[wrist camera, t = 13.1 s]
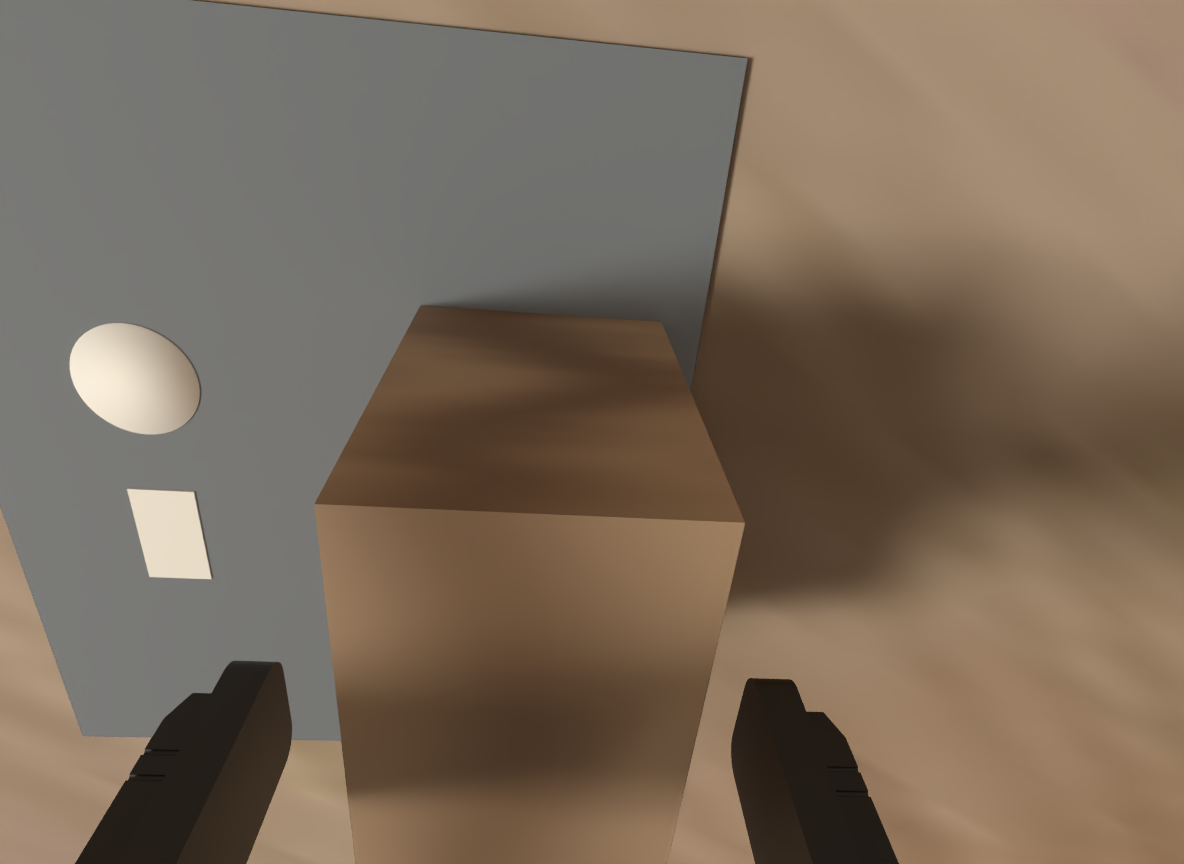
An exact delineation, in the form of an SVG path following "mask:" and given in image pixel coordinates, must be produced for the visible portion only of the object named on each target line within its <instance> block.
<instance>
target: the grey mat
mask: <svg viewBox="0 0 1184 864" xmlns="http://www.w3.org/2000/svg"><path fill="white" fill-rule="evenodd" d="M747 59H748V58H738V57H729V56H719V55H710V54H700V53H690V52H681V51H671V50H662V49H652V48H643V47H633V46H623V45H614V44H604V43H595V42H585V41H576V40H566V39H557V38H547V37H537V36H528V35H518V34H509V33H499V32H490V31H480V30H470V29H461V28H451V27H442V26H432V25H423V24H413V23H404V22H394V21H384V20H375V19H365V18H356V17H346V16H337V15H327V14H318V13H308V12H298V11H289V10H279V9H270V8H260V7H251V6H241V5H231V4H222V3H212V2H203V1H193V0H0V507H1V510H2V513H3V515H4V518H5V521H6V524H7V527H8V529H9V532H10V535H11V538H12V541H13V543H14V546H15V549H16V552H17V554H18V557H19V560H20V563H21V566H22V568H23V571H24V574H25V577H26V580H27V582H28V585H29V588H30V591H31V593H32V596H33V599H34V602H35V605H36V607H37V610H38V613H39V616H40V619H41V621H42V624H43V627H44V630H45V632H46V635H47V638H48V641H49V644H50V646H51V649H52V652H53V655H54V658H55V660H56V663H57V666H58V669H59V671H60V674H61V677H62V680H63V683H64V685H65V688H66V691H67V694H68V696H69V699H70V702H71V705H72V708H73V710H74V713H75V716H76V719H77V722H78V724H79V727H80V730H81V733H82V735H83V736H106V737H153V735H154V733H155V732H156V730H157V728H158V727H159V725H160V723H161V722H162V720H163V719H164V718H165V717H166V716H167V715H168V714H169V713H170V712H171V711H173V710H174V709H175V708H176V707H177V706H178V705H179V704H181V703H182V702H183V701H184V700H185V699H186V698H187V697H188V696H190V695H191V694H192V693H212V691H213V689H214V688H215V686H216V684H217V682H218V680H219V679H220V677H221V675H222V673H223V671H224V670H225V668H226V667H227V665H228V664H229V663H230V662H232V661H266V662H280V663H281V664H282V667H283V670H284V676H285V683H286V689H287V695H288V701H289V707H290V713H291V720H292V739H291V740H332V741H341V733H340V725H339V716H338V707H337V699H336V690H335V681H334V672H333V664H332V655H331V646H330V638H329V629H328V620H327V611H326V603H325V594H324V585H323V577H322V568H321V559H320V550H319V542H318V533H317V524H316V516H315V507H314V504H315V502H316V500H317V498H318V496H319V494H320V492H321V490H322V489H323V487H324V485H325V483H326V481H327V479H328V477H329V475H330V474H331V472H332V470H333V468H334V466H335V464H336V462H337V460H338V459H339V457H340V455H341V453H342V451H343V449H344V447H345V445H346V444H347V442H348V440H349V438H350V436H351V434H352V432H353V431H354V429H355V427H356V425H357V423H358V421H359V419H360V417H361V416H362V414H363V412H364V410H365V408H366V406H367V404H368V402H369V401H370V399H371V397H372V395H373V393H374V391H375V389H376V387H377V386H378V384H379V382H380V380H381V378H382V376H383V374H384V372H385V371H386V369H387V367H388V365H389V363H390V361H391V359H392V358H393V356H394V354H395V352H396V350H397V348H398V346H399V344H400V343H401V341H402V339H403V337H404V335H405V333H406V331H407V329H408V328H409V326H410V324H411V322H412V320H413V318H414V316H415V314H416V313H417V311H418V309H419V307H420V306H434V307H449V308H464V309H478V310H493V311H508V312H523V313H538V314H552V315H567V316H582V317H597V318H611V319H626V320H641V321H656V322H662V324H663V327H664V329H665V332H666V334H667V336H668V339H669V341H670V344H671V346H672V348H673V351H674V353H675V356H676V358H677V360H678V363H679V365H680V368H681V370H682V372H683V375H684V377H685V380H686V382H687V384H688V387H689V389H690V391H691V388H692V382H693V376H694V370H695V364H696V359H697V353H698V347H699V341H700V335H701V329H702V323H703V317H704V312H705V306H706V300H707V294H708V288H709V282H710V276H711V271H712V265H713V259H714V253H715V247H716V241H717V235H718V230H719V224H720V218H721V212H722V206H723V200H724V194H725V188H726V183H727V177H728V171H729V165H730V159H731V153H732V147H733V142H734V136H735V130H736V124H737V118H738V112H739V106H740V101H741V95H742V89H743V83H744V77H745V71H746V65H747Z"/></svg>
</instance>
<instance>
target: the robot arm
mask: <svg viewBox="0 0 1184 864" xmlns="http://www.w3.org/2000/svg"><path fill="white" fill-rule="evenodd" d="M291 739H292V720H291V713H290V707H289V701H288V695H287V689H286V683H285V676H284V670H283V667H282V664H281V663H280V662H266V661H232V662H230V663H229V664H228V665H227V667H226V668H225V670H224V671H223V673H222V675H221V677H220V679H219V680H218V682H217V684H216V686H215V688H214V689H213V691H212V693H192V694H191V695H190V696H188V697H187V698H186V699H185V700H184V701H183V702H182V703H181V704H179V705H178V706H177V707H176V708H175V709H174V710H173V711H171V712H170V713H169V714H168V715H167V716H166V717H165V718H164V719H163V720H162V722H161V723H160V725H159V727H158V728H157V730H156V732H155V733H154V735H153V737H152V738H151V740H150V741H149V743H148V745H147V746H146V748H145V753H144V755H141V756H140V758H139V759H138V761H137V763H136V764H135V766H134V768H133V769H132V771H131V773H130V777H129V780H128V781H125V782H124V784H123V786H122V787H121V789H120V791H119V792H118V794H117V796H116V797H115V799H114V800H113V802H112V804H111V805H110V807H109V809H108V810H107V812H106V814H105V815H104V817H103V819H102V820H101V822H100V823H99V825H98V827H97V828H96V830H95V832H94V833H93V835H92V837H91V838H90V840H89V842H88V843H87V845H86V846H85V848H84V850H83V851H82V853H81V855H80V856H79V858H78V860H77V861H76V863H75V864H246V863H247V860H248V858H249V855H250V853H251V850H252V848H253V845H254V843H255V840H256V838H257V835H258V833H259V830H260V827H261V825H262V822H263V820H264V817H265V815H266V812H267V810H268V807H269V805H270V802H271V800H272V797H273V795H274V792H275V790H276V787H277V784H278V782H279V779H280V777H281V774H282V772H283V769H284V767H285V764H286V761H287V758H288V755H289V751H290V746H291ZM731 758H732V768H733V774H734V778H735V782H736V786H737V790H738V795H739V799H740V803H741V807H742V811H743V815H744V819H745V823H746V828H747V832H748V836H749V840H750V844H751V848H752V852H753V856H754V861H755V864H899V863H898V861H897V858H896V856H895V854H894V851H893V849H892V846H891V844H890V842H889V839H888V837H887V835H886V832H885V830H884V828H883V825H882V823H881V820H880V818H879V816H878V813H877V811H876V809H875V806H874V804H873V801H872V799H871V797H869V796H868V790H867V787H866V785H865V783H864V780H863V778H862V775H861V773H859V772H858V766H857V764H856V761H855V759H854V756H853V754H852V752H851V749H850V747H849V745H848V742H847V740H846V738H845V737H844V735H843V734H842V733H841V732H840V731H839V730H838V728H837V727H836V726H835V725H834V724H833V723H832V722H831V720H830V719H829V718H828V717H827V716H826V715H825V714H824V712H806V710H805V708H804V705H803V702H802V700H801V697H800V694H799V692H798V689H797V687H796V685H795V683H794V682H793V681H792V680H789V679H758V678H749V679H748V680H747V682H746V685H745V688H744V692H743V696H742V700H741V704H740V708H739V712H738V716H737V720H736V724H735V728H734V732H733V736H732V744H731Z"/></svg>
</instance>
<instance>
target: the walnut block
mask: <svg viewBox="0 0 1184 864" xmlns="http://www.w3.org/2000/svg"><path fill="white" fill-rule="evenodd" d="M314 507H315V516H316V524H317V533H318V542H319V550H320V559H321V568H322V577H323V585H324V594H325V603H326V611H327V620H328V629H329V638H330V646H331V655H332V664H333V672H334V681H335V690H336V699H337V707H338V716H339V725H340V733H341V742H342V751H343V760H344V768H345V777H346V786H347V794H348V803H349V812H350V821H351V829H352V838H353V847H354V855H355V864H667V863H668V859H669V855H670V850H671V846H672V842H673V837H674V833H675V828H676V824H677V820H678V815H679V811H680V807H681V802H682V798H683V793H684V789H685V785H686V780H687V776H688V771H689V767H690V763H691V758H692V754H693V750H694V745H695V741H696V736H697V732H698V728H699V723H700V719H701V715H702V710H703V706H704V701H705V697H706V693H707V688H708V684H709V680H710V675H711V671H712V666H713V662H714V658H715V653H716V649H717V645H718V640H719V636H720V631H721V627H722V623H723V618H724V614H725V610H726V605H727V601H728V596H729V592H730V588H731V583H732V579H733V574H734V570H735V566H736V561H737V557H738V553H739V548H740V544H741V539H742V535H743V531H744V526H745V521H744V519H743V516H742V514H741V511H740V509H739V507H738V504H737V502H736V499H735V497H734V495H733V492H732V490H731V487H730V485H729V483H728V480H727V478H726V475H725V473H724V471H723V468H722V466H721V463H720V461H719V459H718V456H717V454H716V451H715V449H714V447H713V444H712V442H711V439H710V437H709V435H708V432H707V430H706V427H705V425H704V423H703V420H702V418H701V415H700V413H699V411H698V408H697V406H696V403H695V401H694V399H693V396H692V394H691V391H690V389H689V387H688V384H687V382H686V380H685V377H684V375H683V372H682V370H681V368H680V365H679V363H678V360H677V358H676V356H675V353H674V351H673V348H672V346H671V344H670V341H669V339H668V336H667V334H666V332H665V329H664V327H663V324H662V322H656V321H641V320H626V319H611V318H597V317H582V316H567V315H552V314H538V313H523V312H508V311H493V310H478V309H464V308H449V307H434V306H420V307H419V309H418V311H417V313H416V314H415V316H414V318H413V320H412V322H411V324H410V326H409V328H408V329H407V331H406V333H405V335H404V337H403V339H402V341H401V343H400V344H399V346H398V348H397V350H396V352H395V354H394V356H393V358H392V359H391V361H390V363H389V365H388V367H387V369H386V371H385V372H384V374H383V376H382V378H381V380H380V382H379V384H378V386H377V387H376V389H375V391H374V393H373V395H372V397H371V399H370V401H369V402H368V404H367V406H366V408H365V410H364V412H363V414H362V416H361V417H360V419H359V421H358V423H357V425H356V427H355V429H354V431H353V432H352V434H351V436H350V438H349V440H348V442H347V444H346V445H345V447H344V449H343V451H342V453H341V455H340V457H339V459H338V460H337V462H336V464H335V466H334V468H333V470H332V472H331V474H330V475H329V477H328V479H327V481H326V483H325V485H324V487H323V489H322V490H321V492H320V494H319V496H318V498H317V500H316V502H315V504H314Z"/></svg>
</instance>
